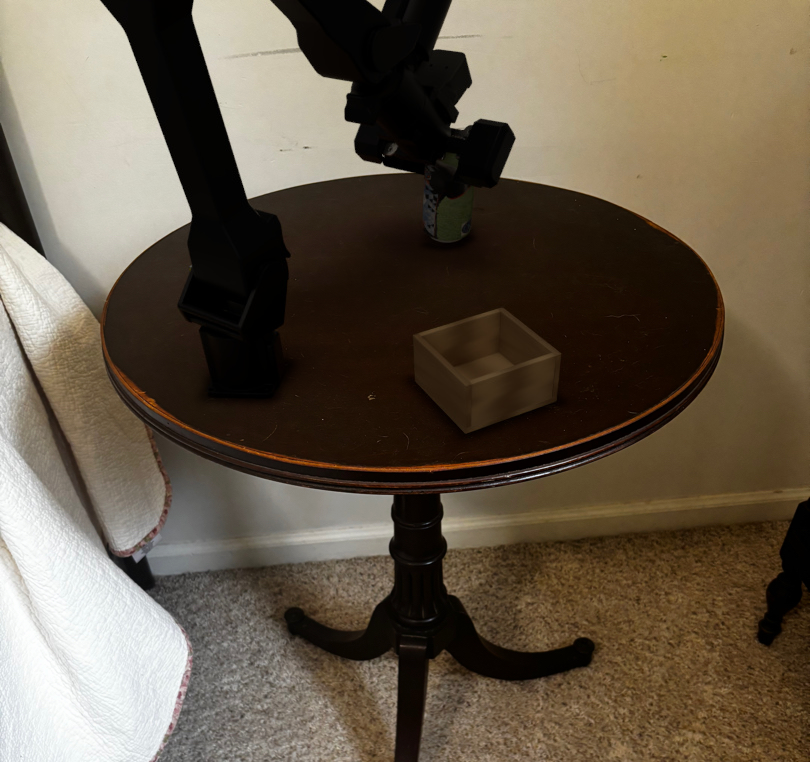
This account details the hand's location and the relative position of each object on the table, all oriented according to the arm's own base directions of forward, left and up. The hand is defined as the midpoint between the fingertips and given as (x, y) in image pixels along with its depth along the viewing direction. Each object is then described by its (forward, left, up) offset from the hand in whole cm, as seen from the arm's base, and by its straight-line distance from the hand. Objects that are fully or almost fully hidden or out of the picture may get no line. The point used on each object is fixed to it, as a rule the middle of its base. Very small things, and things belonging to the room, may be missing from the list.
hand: (461, 179), depth 96 cm
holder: (+4, -34, -7) cm, 35 cm away
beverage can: (-1, -1, -7) cm, 7 cm away
